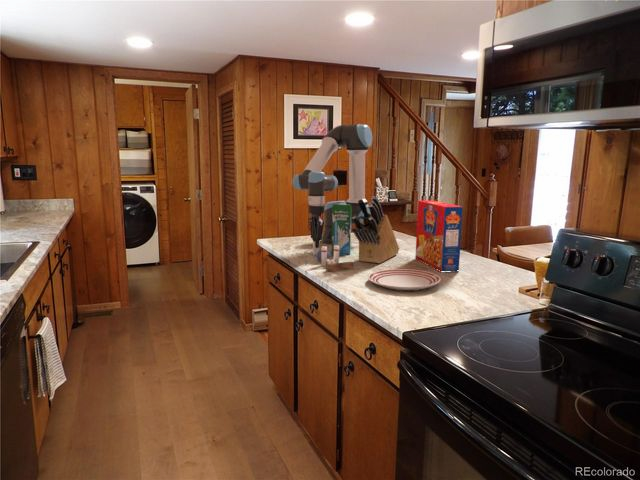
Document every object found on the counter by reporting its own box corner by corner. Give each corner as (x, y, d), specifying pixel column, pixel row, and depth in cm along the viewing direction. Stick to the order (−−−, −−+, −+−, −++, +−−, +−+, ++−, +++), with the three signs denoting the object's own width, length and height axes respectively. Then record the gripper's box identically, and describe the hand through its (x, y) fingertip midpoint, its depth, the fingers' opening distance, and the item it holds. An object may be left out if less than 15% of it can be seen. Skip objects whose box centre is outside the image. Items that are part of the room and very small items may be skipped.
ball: (333, 254, 213) (329, 264, 217) (328, 246, 218) (325, 255, 221) (321, 255, 211) (317, 264, 214) (316, 246, 215) (313, 256, 219)
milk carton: (350, 251, 242) (351, 202, 237) (349, 254, 233) (351, 204, 228) (333, 250, 243) (333, 202, 238) (331, 254, 234) (332, 204, 229)
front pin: (327, 257, 212) (335, 261, 204) (330, 262, 213) (338, 266, 205) (323, 260, 211) (331, 264, 204) (325, 265, 212) (334, 269, 204)
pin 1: (325, 264, 211) (325, 246, 209) (327, 266, 208) (327, 247, 207) (320, 265, 210) (320, 246, 208) (322, 266, 207) (322, 247, 206)
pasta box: (415, 258, 226) (418, 200, 221) (430, 258, 227) (433, 200, 222) (441, 272, 199) (445, 207, 194) (458, 272, 200) (462, 206, 195)
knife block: (349, 265, 210) (350, 196, 204) (378, 252, 240) (380, 191, 235) (372, 268, 204) (374, 197, 199) (399, 254, 235) (402, 192, 229)
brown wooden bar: (351, 268, 205) (351, 261, 204) (353, 269, 203) (353, 262, 202) (326, 270, 200) (326, 263, 199) (328, 271, 198) (328, 264, 197)
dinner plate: (366, 293, 169) (366, 284, 168) (368, 274, 196) (369, 266, 195) (444, 296, 165) (445, 287, 165) (436, 277, 192) (436, 269, 191)
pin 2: (337, 263, 213) (337, 245, 212) (339, 264, 211) (340, 246, 209) (332, 264, 212) (332, 245, 211) (334, 265, 210) (335, 246, 208)
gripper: (303, 203, 225) (303, 252, 229) (314, 206, 213) (314, 257, 217) (318, 203, 227) (317, 251, 232) (329, 206, 216) (328, 256, 220)
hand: (316, 254), depth 224 cm, fingers closed
